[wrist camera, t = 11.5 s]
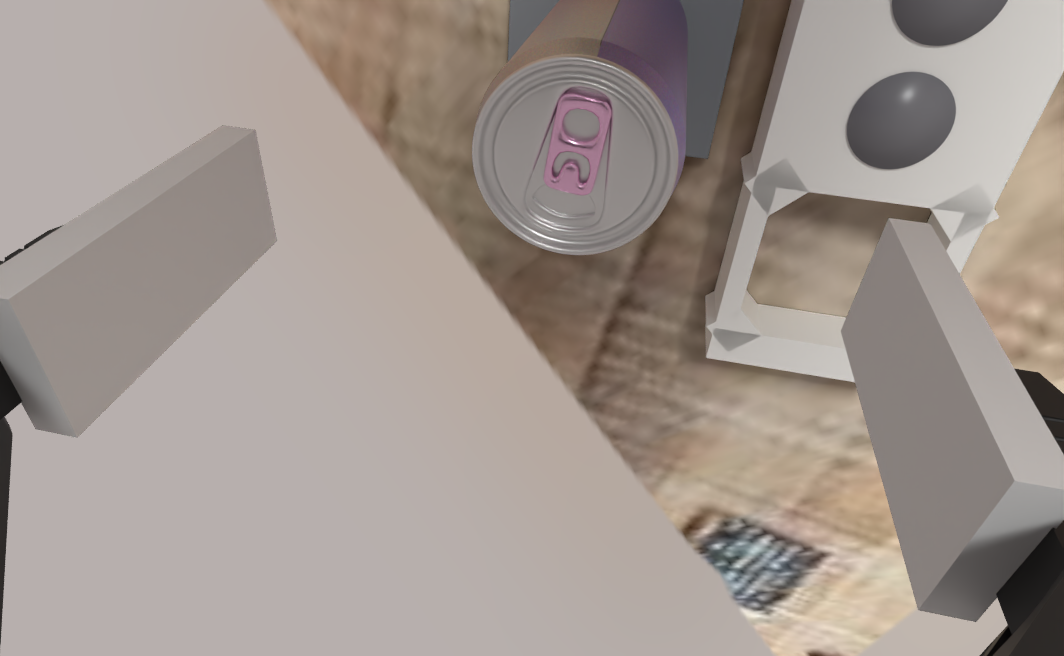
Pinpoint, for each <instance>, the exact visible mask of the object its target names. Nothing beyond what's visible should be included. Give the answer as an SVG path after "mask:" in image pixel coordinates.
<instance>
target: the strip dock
mask: <svg viewBox="0 0 1064 656" xmlns="http://www.w3.org/2000/svg"><path fill="white" fill-rule="evenodd" d="M1063 71H1064V0H791V4H790V8H789V12H788V15H787V19H786V23H785V27H784V30H783V34H782V38H781V42H780V45H779V49H778V53H777V57H776V61H775V64H774V68H773V72H772V76H771V79H770V83H769V87H768V91H767V95H766V98H765V102H764V106H763V110H762V113H761V117H760V121H759V125H758V128H757V132H756V136H755V140H754V144H753V147H752V151H751V152H750V153H748V154H747V155H745V156H744V157H742V158H741V165H742V171H743V178H744V181H743V185H742V189H741V193H740V196H739V200H738V204H737V208H736V211H735V215H734V219H733V223H732V226H731V230H730V234H729V238H728V242H727V245H726V249H725V253H724V257H723V260H722V264H721V268H720V272H719V275H718V279H717V283H716V287H715V291H713V292H711V293H709V294H708V295H706V296H705V303H706V324H705V339H706V358H710V359H716V360H722V361H729V362H735V363H741V364H747V365H753V366H759V367H765V368H771V369H777V370H783V371H789V372H796V373H802V374H808V375H814V376H820V377H826V378H832V379H838V380H844V381H850V382H855V381H854V377H853V374H852V370H851V366H850V363H849V359H848V356H847V352H846V348H845V345H844V341H843V338H842V334H841V329H842V327H843V324H844V322H845V320H846V317H840V316H834V315H827V314H821V313H814V312H808V311H801V310H795V309H788V308H782V307H775V306H769V305H762V304H757V303H756V302H755V300H754V299H753V298H752V296H751V295H750V294H749V293H748V291H747V290H746V288H747V285H748V282H749V278H750V275H751V272H752V268H753V265H754V262H755V258H756V255H757V252H758V248H759V245H760V241H761V238H762V235H763V231H764V228H765V225H766V221H767V218H768V216H769V215H771V214H773V213H774V212H776V211H778V210H779V209H781V208H783V207H785V206H786V205H788V204H790V203H791V202H793V201H795V200H796V199H798V198H800V197H801V196H803V195H805V194H807V193H808V192H812V193H820V194H827V195H835V196H842V197H850V198H857V199H864V200H872V201H879V202H887V203H894V204H902V205H909V206H917V207H924V208H930V210H931V212H932V213H931V215H930V217H929V220H928V222H927V223H929V224H931V226H932V227H933V229H934V231H935V233H936V234H937V236H938V238H939V239H940V241H941V243H942V245H943V246H944V248H945V250H946V252H947V253H948V255H949V257H950V259H951V260H952V262H953V264H954V265H955V267H956V269H957V271H958V272H959V274H960V272H961V270H962V268H963V267H964V265H965V263H966V261H967V259H968V257H969V255H970V253H971V251H972V249H973V247H974V245H975V243H976V241H977V239H978V237H979V235H980V233H981V231H982V229H983V228H984V226H985V224H988V223H990V222H992V221H994V220H996V219H998V218H999V216H998V214H997V212H996V211H995V209H994V206H995V204H996V202H997V200H998V198H999V196H1000V194H1001V192H1002V190H1003V189H1004V187H1005V185H1006V183H1007V181H1008V179H1009V177H1010V175H1011V173H1012V171H1013V169H1014V167H1015V165H1016V163H1017V161H1018V159H1019V157H1020V155H1021V153H1022V151H1023V149H1024V148H1025V146H1026V144H1027V142H1028V140H1029V138H1030V136H1031V134H1032V132H1033V130H1034V128H1035V126H1036V124H1037V122H1038V120H1039V118H1040V116H1041V114H1042V112H1043V110H1044V109H1045V107H1046V105H1047V103H1048V101H1049V99H1050V97H1051V95H1052V93H1053V91H1054V89H1055V87H1056V85H1057V83H1058V81H1059V79H1060V77H1061V75H1062V73H1063Z"/></svg>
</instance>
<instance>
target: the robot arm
mask: <svg viewBox="0 0 1064 656" xmlns="http://www.w3.org/2000/svg"><path fill="white" fill-rule="evenodd" d="M276 241H277V238H276V233H275V228H274V223H273V218H272V213H271V207H270V203H269V197H268V192H267V187H266V182H265V177H264V172H263V167H262V161H261V156H260V151H259V146H258V141H257V136H256V130H253V129H246V128H239V127H232V126H224V125H222V126H221V127H219V128H217V129H216V130H214V131H213V132H211V133H210V134H208V135H207V136H205V137H203V138H202V139H200V140H199V141H197V142H195V143H194V144H192V145H191V146H189V147H187V148H186V149H184V150H183V151H181V152H180V153H178V154H176V155H175V156H173V157H171V158H170V159H168V160H167V161H165V162H163V163H162V164H160V165H159V166H157V167H156V168H154V169H152V170H151V171H149V172H148V173H146V174H144V175H143V176H141V177H140V178H138V179H137V180H135V181H133V182H132V183H130V184H129V185H127V186H125V187H124V188H122V189H121V190H119V191H118V192H116V193H115V194H113V195H111V196H110V197H108V198H106V199H105V200H103V201H102V202H100V203H98V204H97V205H95V206H94V207H92V208H90V209H89V210H87V211H86V212H84V213H83V214H81V215H79V216H78V217H76V218H75V219H73V220H72V221H70V222H68V223H67V224H65V225H63V226H60V227H57V228H55V229H52V230H49V231H47V232H45V233H44V234H42V235H41V236H39V237H38V238H36V239H34V240H33V241H31V242H29V243H28V244H26V245H25V246H24V249H18V250H17V251H15V252H13V253H12V254H10V255H9V256H7V257H5V261H4V262H3V261H0V643H1V626H2V608H3V590H4V572H5V554H6V538H7V520H8V502H9V485H10V467H11V450H12V432H11V429H10V426H9V424H8V422H7V421H6V419H5V417H4V416H6V415H7V414H8V413H9V412H10V411H11V410H13V409H14V408H15V407H16V406H17V405H18V404H20V403H22V405H23V407H24V409H25V411H26V412H27V414H28V416H29V418H30V420H31V421H32V423H33V425H34V427H35V429H38V430H43V431H48V432H53V433H57V434H62V435H67V436H72V437H78V436H79V435H80V434H81V433H83V432H84V431H85V430H86V429H87V427H88V426H90V425H91V424H92V423H93V422H94V421H95V420H96V419H97V418H98V417H99V416H100V415H101V414H102V412H104V411H105V410H106V409H107V408H108V407H109V406H110V405H111V404H112V403H113V402H114V401H115V400H116V399H117V398H118V397H119V396H120V395H121V394H122V393H123V392H124V391H125V390H126V389H127V388H128V387H129V386H130V385H131V384H132V383H133V382H134V381H135V380H136V379H137V378H138V377H139V376H140V375H141V374H142V373H143V372H144V371H145V370H146V369H147V368H148V367H150V366H151V365H152V364H153V363H154V361H155V360H157V359H158V358H159V357H160V356H161V355H162V354H163V353H164V352H165V351H166V350H167V349H168V348H169V347H170V346H171V345H172V344H173V343H174V342H175V341H176V340H177V339H178V338H179V337H180V336H181V335H182V334H183V333H184V332H185V331H186V330H187V329H188V328H189V327H190V326H191V325H192V324H193V323H194V322H195V321H196V320H197V319H198V318H199V317H200V316H201V315H202V314H203V313H204V312H205V311H206V310H207V309H208V308H209V307H210V306H211V305H212V304H214V302H216V301H217V300H218V299H219V298H220V297H221V296H222V295H223V294H224V293H225V292H226V291H227V290H228V289H229V288H230V287H231V286H232V285H233V284H234V283H235V282H236V281H237V280H238V279H239V278H240V277H241V276H242V275H243V274H244V273H245V272H246V271H247V270H248V269H249V268H250V267H251V266H252V265H253V264H254V263H255V262H256V261H257V260H258V259H259V258H260V257H261V256H262V255H263V254H264V253H265V252H266V251H267V250H268V249H269V248H270V247H271V246H272V245H273V244H274V243H275V242H276ZM841 334H842V338H843V341H844V345H845V348H846V352H847V356H848V359H849V363H850V366H851V370H852V374H853V377H854V381H855V384H856V388H857V392H858V395H859V399H860V402H861V406H862V410H863V413H864V417H865V420H866V424H867V428H868V431H869V435H870V438H871V442H872V446H873V449H874V453H875V456H876V460H877V464H878V467H879V471H880V474H881V478H882V482H883V485H884V489H885V492H886V496H887V500H888V503H889V507H890V510H891V514H892V518H893V521H894V525H895V528H896V532H897V536H898V539H899V543H900V546H901V550H902V554H903V557H904V561H905V564H906V568H907V572H908V575H909V579H910V582H911V586H912V590H913V593H914V597H915V600H916V604H917V608H918V610H920V611H925V612H930V613H935V614H940V615H945V616H950V617H954V618H960V619H964V620H969V621H974V622H976V621H977V620H978V619H979V618H980V617H981V616H982V614H983V613H984V612H985V611H986V609H988V607H989V606H990V605H991V604H992V603H993V602H994V600H995V599H996V598H998V600H999V603H1000V606H1001V608H1002V611H1003V613H1004V616H1005V619H1006V621H1007V624H1008V626H1007V627H1006V628H1005V629H1004V630H1003V631H1002V632H1001V633H1000V634H999V635H998V637H996V639H995V640H994V641H993V642H992V643H991V644H990V645H989V646H988V647H987V648H986V649H985V650H984V652H983V653H982V654H981V655H980V656H1064V394H1063V393H1062V392H1061V391H1060V390H1058V389H1057V388H1056V387H1055V386H1054V385H1053V384H1051V383H1050V382H1049V381H1048V380H1047V379H1046V378H1044V377H1043V376H1042V375H1041V374H1040V373H1038V372H1032V371H1026V370H1019V369H1014V368H1013V366H1012V364H1011V362H1010V361H1009V359H1008V357H1007V356H1006V354H1005V352H1004V350H1003V349H1002V347H1001V345H1000V343H999V342H998V340H997V338H996V336H995V335H994V333H993V331H992V330H991V328H990V326H989V324H988V323H987V321H986V319H985V317H984V316H983V314H982V312H981V310H980V309H979V307H978V305H977V304H976V302H975V300H974V298H973V297H972V295H971V293H970V291H969V290H968V288H967V286H966V284H965V283H964V281H963V279H962V278H961V276H960V274H959V272H958V271H957V269H956V267H955V265H954V264H953V262H952V260H951V259H950V257H949V255H948V253H947V252H946V250H945V248H944V246H943V245H942V243H941V241H940V239H939V238H938V236H937V234H936V233H935V231H934V229H933V227H932V226H931V224H929V223H922V222H915V221H908V220H901V219H894V218H888V220H887V223H886V225H885V228H884V230H883V232H882V235H881V237H880V239H879V242H878V244H877V246H876V249H875V251H874V253H873V256H872V258H871V261H870V263H869V265H868V268H867V270H866V272H865V275H864V277H863V279H862V282H861V284H860V287H859V289H858V291H857V294H856V296H855V298H854V301H853V303H852V305H851V308H850V310H849V312H848V315H847V317H846V320H845V322H844V324H843V327H842V329H841Z"/></svg>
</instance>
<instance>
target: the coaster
mask: <svg viewBox="0 0 1064 656" xmlns="http://www.w3.org/2000/svg"><path fill="white" fill-rule="evenodd" d="M743 1H744V0H680V2H681V5H682V7H683V10H684V13H685V16H686V21H687V28H688V51H687V107H686V152H685V156H689V157H697V158H705V159H708V156H709V151H710V147H711V142H712V138H713V134H714V129H715V125H716V120H717V116H718V112H719V107H720V103H721V98H722V94H723V90H724V85H725V81H726V76H727V72H728V68H729V63H730V59H731V54H732V50H733V46H734V41H735V37H736V32H737V28H738V23H739V19H740V15H741V10H742V6H743ZM558 2H559V0H510V18H509V43H508V61H509V60H510V59H511V58H512V57H513V55H514V54H515V53H516V52H517V51H518V49H519V48H520V47H521V46H522V45H523V43H524V42H525V41H526V40H527V39H528V37H529V36H530V35H531V34H532V33H533V31H534V30H535V29H536V28H537V27H538V26H539V24H540V23H541V22H542V21H543V20H544V18H545V17H546V16H547V15H548V14H549V12H550V11H551V10H552V9H553V8H554V6H555V5H556V4H557V3H558Z"/></svg>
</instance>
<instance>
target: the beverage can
mask: <svg viewBox="0 0 1064 656" xmlns="http://www.w3.org/2000/svg"><path fill="white" fill-rule="evenodd" d="M687 51H688V28H687V21H686V16H685V13H684V10H683V7H682V5H681V2H680V0H559V2H558V3H557V4H556V5H555V6H554V8H553V9H552V10H551V11H550V12H549V14H548V15H547V16H546V17H545V18H544V20H543V21H542V22H541V23H540V24H539V26H538V27H537V28H536V29H535V30H534V31H533V33H532V34H531V35H530V36H529V37H528V39H527V40H526V41H525V42H524V43H523V45H522V46H521V47H520V48H519V49H518V51H517V52H516V53H515V54H514V55H513V57H512V58H511V59H510V60H509V61H508V63H507V64H506V65H505V66H504V67H503V68H502V70H501V71H500V72H499V73H498V75H497V76H496V77H495V78H494V80H493V81H492V83H491V84H490V86H489V87H488V89H487V91H486V93H485V95H484V97H483V100H482V102H481V105H480V108H479V112H478V116H477V121H476V126H475V130H474V135H473V143H472V161H473V168H474V173H475V178H476V181H477V184H478V187H479V189H480V192H481V194H482V196H483V198H484V200H485V201H486V203H487V205H488V206H489V208H490V209H491V211H492V212H493V213H494V215H495V216H496V217H497V218H498V219H499V220H500V221H501V223H502V224H504V225H505V226H506V227H507V228H508V229H509V230H510V231H511V232H513V233H514V234H515V235H517V236H518V237H520V238H521V239H523V240H525V241H526V242H528V243H530V244H532V245H534V246H537V247H539V248H542V249H544V250H548V251H551V252H555V253H560V254H567V255H590V254H597V253H602V252H606V251H610V250H613V249H615V248H618V247H620V246H622V245H625V244H626V243H628V242H630V241H632V240H633V239H635V238H636V237H638V236H639V235H641V234H642V233H643V232H644V231H645V230H647V229H648V228H649V227H650V226H651V225H652V224H653V223H654V221H655V220H656V219H657V218H658V217H659V215H660V214H661V212H662V211H663V209H664V208H665V206H666V204H667V202H668V200H669V198H670V197H671V195H672V193H673V192H674V190H675V188H676V186H677V183H678V181H679V178H680V176H681V173H682V169H683V165H684V160H685V152H686V107H687Z"/></svg>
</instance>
